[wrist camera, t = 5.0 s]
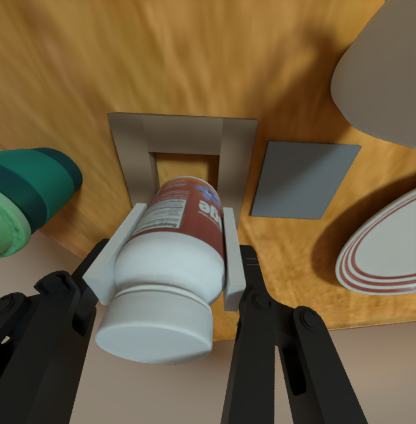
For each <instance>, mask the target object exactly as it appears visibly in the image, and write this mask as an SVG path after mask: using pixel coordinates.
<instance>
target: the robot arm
mask: <svg viewBox="0 0 416 424" xmlns="http://www.w3.org/2000/svg"><path fill="white" fill-rule="evenodd" d="M146 210H147V204H145V203H137V204H136V205H135V206H134V208H133V209H132V211H131V212H130V213H129V215H128V216H127V217H126V219H125V220H124V221H123V223H122V224H121V225H120V227H119V228H118V230H117V231H116V232H115V234H114V235H113V236H112V238H111V239H103V240H102V241H100V242H99V243H97V244H96V245H95V247H94V248H93V249H92V250H91V252H90V253H89V254H88V255H87V258H85V259H84V260H83V262H82V263H81V264H80V265H79V266H78V268H77V269H76V270H75V272H74V273H73V274H72V275H70V274H69V273H68V272H66V271H56V272H53V273H50V274H48V275H47V276H44V277H43V278H42V279H41V280H39V281H38V282H37V283H36V284H35V286H34V288H35V289H36V290H37V291H38V292H39V293H40V294H38V295H33V296H29V297H26V296H25V295H24V294H23V293H19V292H16V293H10V294H8V295H5V296H3V297H1V298H0V424H69V422H70V417H71V414H72V409H73V405H74V401H75V397H76V393H77V389H78V385H79V381H80V377H81V373H82V369H83V365H84V361H85V357H86V353H87V349H88V345H89V341H90V337H91V333H92V329H93V324H94V320H95V316H96V307H95V305H96V304H97V302H98V300H99V301H100V303H101V304H102V305H109V304H110V303H111V302H112V301H113V298H114V297H115V295H116V294H117V293H119V292H120V291H119V289H118V288H117V285H116V283H115V279H114V265H115V262H116V259H117V257H118V255H119V253H120V252H121V250H122V248H123V246H124V245H125V243H126V242H127V240H128V239H129V237H130V236H131V234H132V232H133V231H134V229H135V228H136V226H137V224H138V223H139V221H140V220H141V218H142V216H143V215H144V213H145V212H146ZM222 226H223V239H224V254H225V285H224V288H223V296H224V311H238V309H239V314H240V318H239V321H238V323H237V326H238V327H237V333H236V338H235V344H234V350H233V356H232V361H231V367H230V373H229V379H228V384H227V390H226V396H225V401H224V407H223V413H222V418H221V424H274V378H275V376H274V375H275V345H276V346H278V349H279V353H280V359H281V364H282V369H283V373H284V379H285V384H286V388H287V393H288V399H289V404H290V408H291V413H292V418H293V423H294V424H368V423H367V420H366V418H365V416H364V413H363V411H362V409H361V406H360V404H359V402H358V399H357V397H356V395H355V393H354V390H353V388H352V386H351V383H350V381H349V379H348V376H347V374H346V372H345V369H344V367H343V365H342V362H341V360H340V358H339V355H338V353H337V351H336V348H335V346H334V344H333V342H332V339H331V337H330V335H329V333H328V330H327V328H326V325H325V323H324V321H323V320H322V318H321V317H320V316H319V315H318V314H317V313H316V312H315V311H314V310H312V309H311V308H309V307H306V306H298V307H297V308H295V309H294V308H291V307H289V306H286V305H284V304H281V303H279V302H277V301H276V300H274V299H273V298H272V297H271V296H270V295H269V293H268V292H267V289H266V287H265V283H264V279H263V276H262V272H261V269H260V266H259V261H258V258H257V254H256V251H255V250H254V249H253V247H252V246H251V245H239V242H238V236H237V230H236V225H235V219H234V213H233V208H226V207H223V213H222ZM6 336H8V337H10V339H9V340H8V341H6V342H5V343H3V344H1V342H2V341H3V340H4V339H5V337H6Z"/></svg>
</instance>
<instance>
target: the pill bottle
mask: <svg viewBox="0 0 416 424" xmlns="http://www.w3.org/2000/svg"><path fill="white" fill-rule="evenodd" d="M114 279H115V283H116V285H117V288H118V289H119V291H120V292H119V293H117V294H116V295H115V297H114V298H113V301H112V302H111V303H110V304H109V306H108V308H107V311H106V313H105V315H104V317H103V319H102V321H101V324H100V326H99V328H98V330H97V332H96V335H95V341H96V343H97V344H98V345H99V346H100V347H101V348H102V349H104V350H105V351H107V352H109V353H111V354H113V355H116V356H119V357H122V358H125V359H129V360H133V361H138V362H144V363H153V364H165V365H167V364H168V365H171V364H172V365H173V364H174V365H176V364H186V363H192V362H196V361H199V360H202V359H204V358H206V357H207V356H208V355H209V354H210V353H211V351H212V339H213V317H212V311H211V308H210V305H212V304H213V303H214V302H215V301H216V300H217V299H218V297H219V296H220V294H221V293H222V291H223V288H224V285H225V254H224V239H223V226H222V211H221V203H220V198H219V196H218V194H217V192H216V191H215V190H214V188H213V187H212V186H211V185H210V184H208V183H207V182H205V181H204V180H202V179H199V178H196V177H192V176H180V177H176V178H173V179H171V180H169V181H167V182H166V183H165V184H164V185H163V186H162V187H161V188H160V189H159V191H158V192H157V194H156V196H155V197H154V199H153V200H152V202H151V204H150V205H149V207H148V208H147V210H146V212H145V213H144V215H143V216H142V218H141V220H140V221H139V223H138V224H137V226H136V228H135V229H134V231H133V232H132V234H131V236H130V237H129V239H128V240H127V242H126V243H125V245H124V246H123V248H122V250H121V252H120V253H119V255H118V257H117V259H116V262H115V265H114Z"/></svg>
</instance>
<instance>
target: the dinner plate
mask: <svg viewBox="0 0 416 424" xmlns="http://www.w3.org/2000/svg"><path fill="white" fill-rule="evenodd" d="M335 274H336V277H337V279H338V281H339V282H340V283H341V284H342V285H343V286H344V287H346V288H347V289H350V290H352V291H355V292H358V293H363V294H371V295H398V294H407V293H414V292H416V188H415V189H413V190H411V191H409V192H408V193H406V194H404V195H403V196H401V197H399V198H398V199H396V200H394V201H393V202H391V203H390V204H388V205H387V206H385V207H384V208H383V209H381V210H380V211H378V212H377V213H376V214H375V215H373V216H372V217H371V218H370V219H368V220H367V221H366V222H365V223H364V224H363V225H362V226H361V227H360V228H359V229H358V230H356V232H355V233H354V234H353V235H352V236H351V237H350V238H349V240H348V241H347V242H346V244H345V245H344V247H343V248H342V250H341V252H340V254H339V256H338V258H337V261H336V265H335Z"/></svg>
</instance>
